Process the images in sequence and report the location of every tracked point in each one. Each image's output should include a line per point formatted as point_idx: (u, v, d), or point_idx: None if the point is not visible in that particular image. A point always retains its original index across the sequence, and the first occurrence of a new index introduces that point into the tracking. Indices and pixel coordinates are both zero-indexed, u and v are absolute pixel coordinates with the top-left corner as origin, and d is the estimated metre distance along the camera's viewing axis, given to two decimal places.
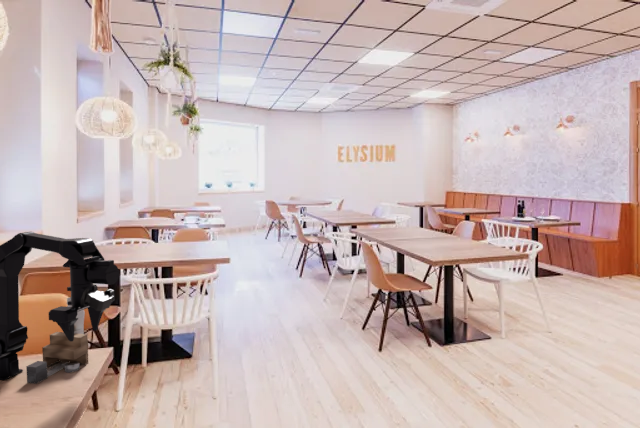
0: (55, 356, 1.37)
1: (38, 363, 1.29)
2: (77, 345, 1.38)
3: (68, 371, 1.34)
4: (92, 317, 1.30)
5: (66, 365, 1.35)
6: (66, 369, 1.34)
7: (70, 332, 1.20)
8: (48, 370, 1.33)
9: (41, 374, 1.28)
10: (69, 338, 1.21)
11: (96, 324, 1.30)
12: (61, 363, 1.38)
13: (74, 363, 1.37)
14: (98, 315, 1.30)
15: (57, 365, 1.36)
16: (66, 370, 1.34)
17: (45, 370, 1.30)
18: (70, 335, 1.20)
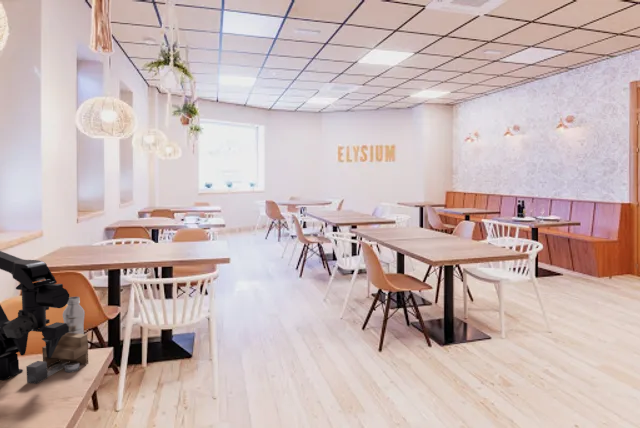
0: (55, 356, 1.37)
1: (38, 363, 1.29)
2: (77, 345, 1.38)
3: (68, 371, 1.34)
4: None
5: (66, 365, 1.35)
6: (66, 369, 1.34)
7: None
8: (48, 370, 1.33)
9: (41, 374, 1.28)
10: None
11: None
12: (61, 363, 1.38)
13: (74, 363, 1.37)
14: None
15: (57, 365, 1.36)
16: (66, 370, 1.34)
17: (45, 370, 1.30)
18: None
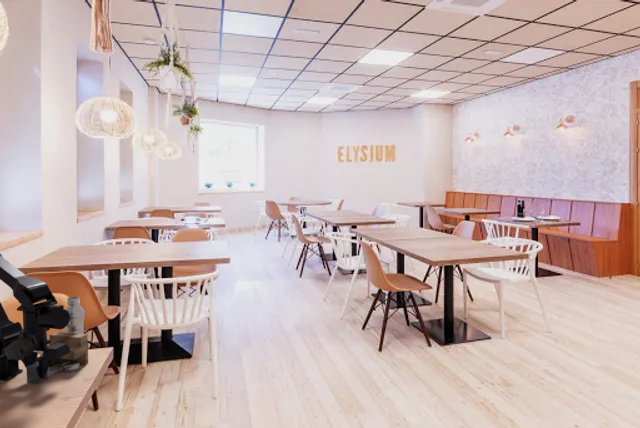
0: None
1: (38, 363, 1.29)
2: (77, 345, 1.38)
3: (68, 371, 1.34)
4: None
5: (66, 365, 1.35)
6: (66, 369, 1.34)
7: None
8: (48, 370, 1.33)
9: None
10: None
11: None
12: (61, 363, 1.38)
13: (74, 363, 1.37)
14: None
15: (57, 365, 1.36)
16: (66, 370, 1.34)
17: None
18: None
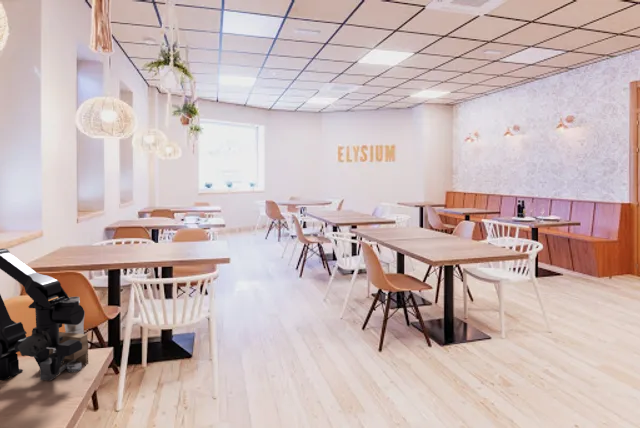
0: None
1: (51, 360, 1.30)
2: None
3: (70, 370, 1.34)
4: None
5: (68, 364, 1.35)
6: (68, 368, 1.34)
7: None
8: None
9: None
10: None
11: None
12: (70, 359, 1.39)
13: (76, 363, 1.37)
14: None
15: (67, 361, 1.37)
16: (68, 369, 1.34)
17: None
18: None
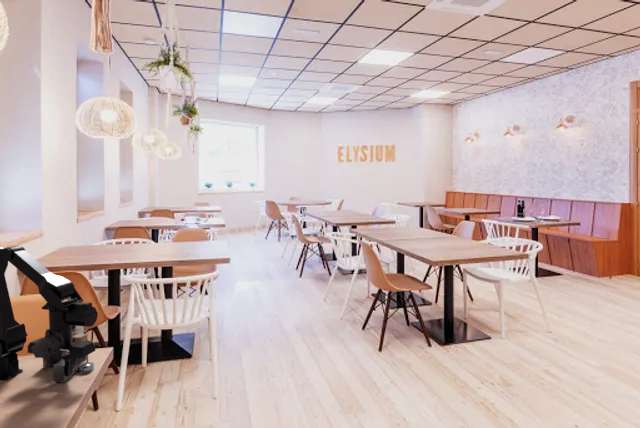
0: None
1: (64, 362, 1.29)
2: None
3: (83, 372, 1.34)
4: None
5: (81, 366, 1.35)
6: (81, 370, 1.34)
7: None
8: None
9: None
10: None
11: None
12: (81, 361, 1.38)
13: (88, 364, 1.36)
14: None
15: (78, 363, 1.36)
16: (81, 371, 1.34)
17: None
18: None
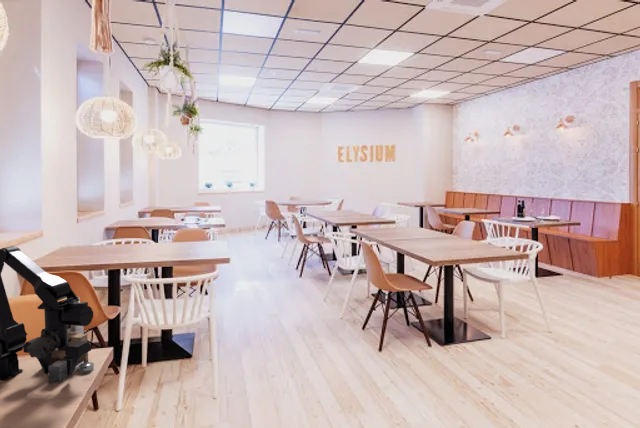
0: (55, 356, 1.37)
1: (59, 363, 1.29)
2: None
3: (83, 372, 1.34)
4: None
5: (81, 366, 1.35)
6: (81, 370, 1.34)
7: None
8: None
9: (63, 373, 1.29)
10: None
11: None
12: (78, 362, 1.38)
13: (88, 364, 1.36)
14: None
15: None
16: (81, 371, 1.34)
17: (66, 369, 1.30)
18: None
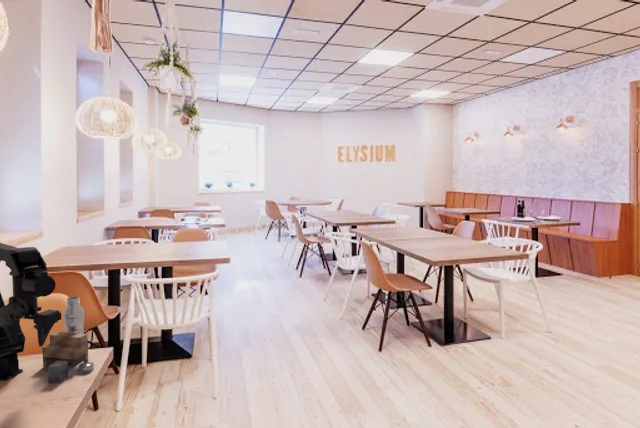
0: (55, 356, 1.37)
1: (59, 363, 1.29)
2: (77, 345, 1.38)
3: (83, 372, 1.34)
4: None
5: (81, 366, 1.35)
6: (81, 370, 1.34)
7: None
8: (67, 369, 1.33)
9: (63, 373, 1.29)
10: None
11: None
12: (78, 362, 1.38)
13: (88, 364, 1.36)
14: None
15: (75, 364, 1.37)
16: (81, 371, 1.34)
17: (66, 369, 1.30)
18: None
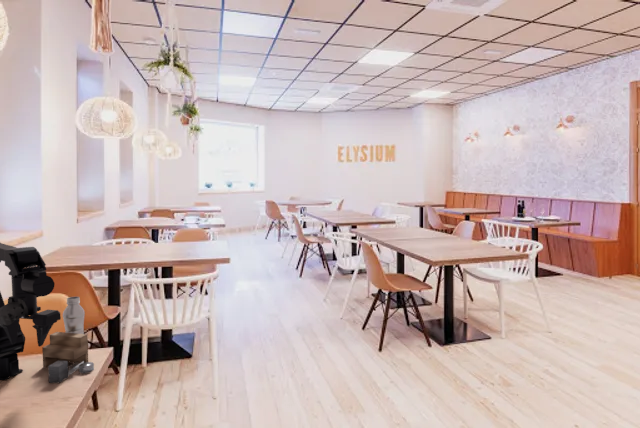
0: (55, 356, 1.37)
1: (59, 363, 1.29)
2: (77, 345, 1.38)
3: (83, 372, 1.34)
4: None
5: (81, 366, 1.35)
6: (81, 370, 1.34)
7: None
8: (67, 369, 1.33)
9: (63, 373, 1.29)
10: None
11: None
12: (78, 362, 1.38)
13: (88, 364, 1.36)
14: None
15: (75, 364, 1.37)
16: (81, 371, 1.34)
17: (66, 369, 1.30)
18: None
